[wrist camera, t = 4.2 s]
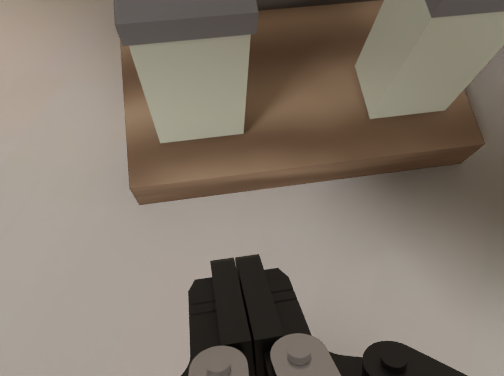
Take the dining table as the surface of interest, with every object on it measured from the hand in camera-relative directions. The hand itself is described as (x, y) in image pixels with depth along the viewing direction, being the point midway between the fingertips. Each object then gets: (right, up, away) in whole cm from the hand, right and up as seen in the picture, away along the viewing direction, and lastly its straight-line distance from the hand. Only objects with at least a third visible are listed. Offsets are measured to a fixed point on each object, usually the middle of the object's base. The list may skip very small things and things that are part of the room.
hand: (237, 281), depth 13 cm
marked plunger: (-3, +8, +13) cm, 16 cm away
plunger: (+10, +9, +15) cm, 20 cm away
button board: (+3, +11, +18) cm, 21 cm away
